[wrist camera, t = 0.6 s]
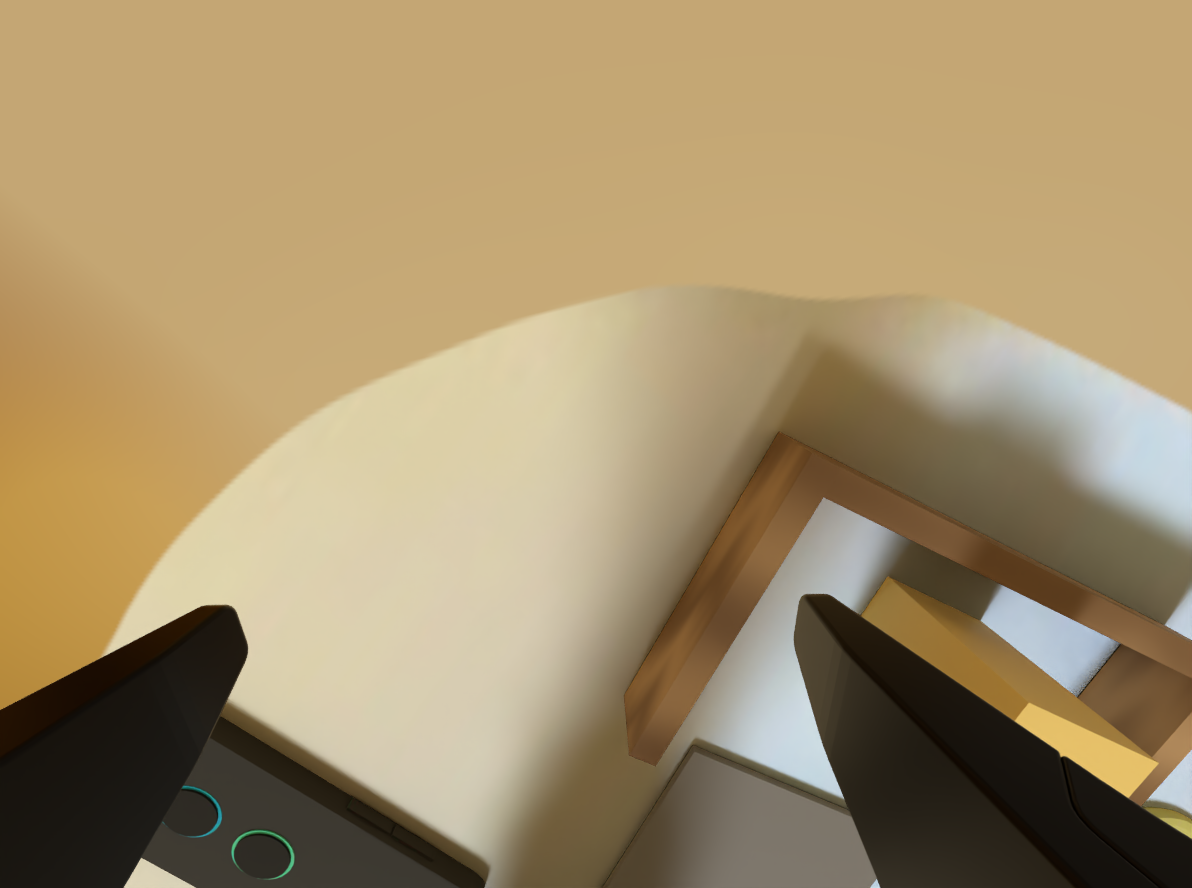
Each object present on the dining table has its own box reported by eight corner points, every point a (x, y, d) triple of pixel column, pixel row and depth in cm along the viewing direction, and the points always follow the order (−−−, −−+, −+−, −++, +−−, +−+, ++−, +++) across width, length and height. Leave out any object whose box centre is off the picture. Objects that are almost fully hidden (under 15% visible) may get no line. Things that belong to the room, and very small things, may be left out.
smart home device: (115, 682, 24) (487, 905, 27) (147, 657, 25) (493, 870, 28) (28, 803, 25) (391, 1001, 28) (64, 772, 27) (402, 962, 30)
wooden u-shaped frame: (982, 847, 28) (1037, 922, 24) (623, 695, 25) (629, 755, 22) (1165, 625, 25) (1256, 676, 21) (778, 431, 22) (812, 453, 19)
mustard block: (917, 705, 26) (1059, 877, 18) (827, 665, 25) (933, 823, 17) (979, 620, 25) (1159, 762, 17) (887, 576, 24) (1028, 702, 16)
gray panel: (798, 966, 30) (801, 974, 29) (599, 891, 28) (599, 899, 28) (902, 832, 27) (907, 840, 27) (693, 744, 26) (694, 751, 26)
